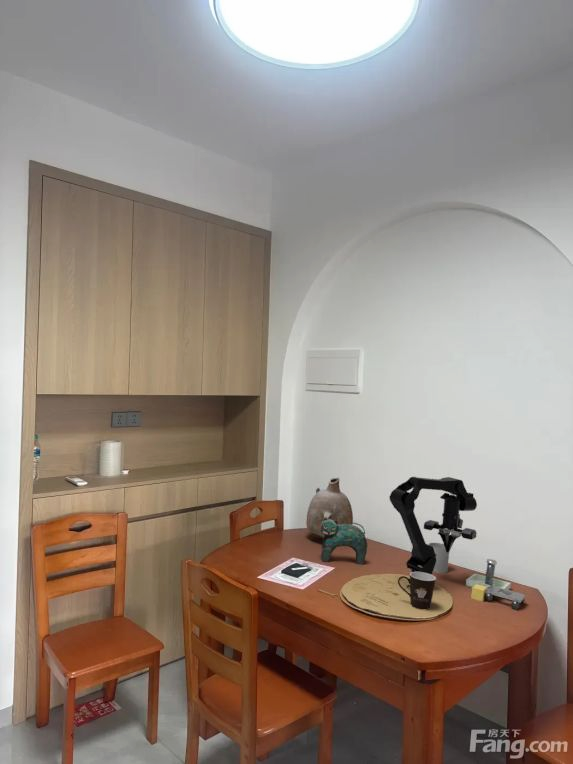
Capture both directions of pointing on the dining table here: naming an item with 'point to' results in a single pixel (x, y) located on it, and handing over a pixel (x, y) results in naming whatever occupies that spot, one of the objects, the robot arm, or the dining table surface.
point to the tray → (481, 581)
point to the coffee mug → (420, 589)
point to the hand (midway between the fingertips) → (447, 552)
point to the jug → (328, 507)
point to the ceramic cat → (342, 539)
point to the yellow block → (478, 592)
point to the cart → (505, 595)
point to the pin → (490, 571)
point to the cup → (440, 558)
